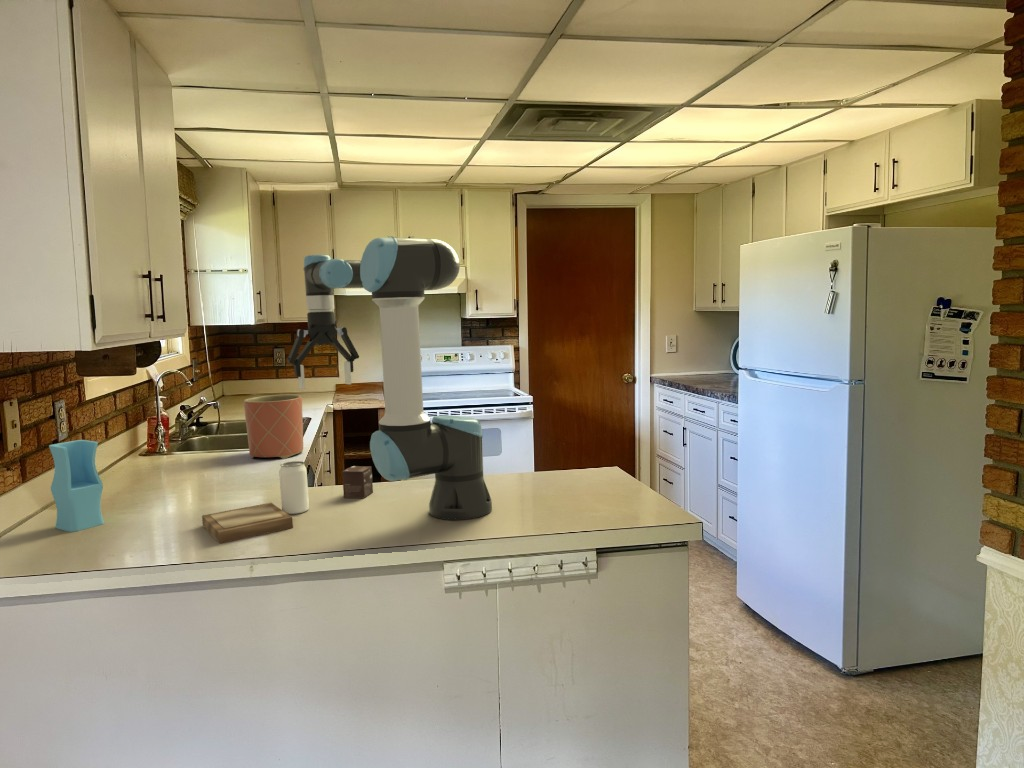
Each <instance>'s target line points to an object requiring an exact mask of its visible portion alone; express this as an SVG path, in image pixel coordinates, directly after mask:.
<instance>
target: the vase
mask: <svg viewBox="0 0 1024 768" xmlns="http://www.w3.org/2000/svg"><path fill="white" fill-rule="evenodd" d="M98 445H99V442H98V441H95V440H94V441H93V440H87V439H76V440H71V441H65V442H59V443H54V444H53V443H52V444H49V445H48V447H49V450H50V453H51V455H52V459H53V463H54V473H53V479H52V482H51V485H50V492H51V495H52V496H53V497H52V498H53V500H54V503H55V506H56V522H55V529H58V530H61V531H65V532H69V533H73V532H79V531H84V530H86V529H87V530H88V529H90V528H93V527H97V526H102V525H104V524H105V522H104V518H103V515H102V510H101V501H102V493H103V489H104V485H103V484H104V483H103V481H102V479H101V477H100V475H99V473H98V470H97V468H96V467H97V465H96V454H97V453H96V452H97V449H98Z"/></svg>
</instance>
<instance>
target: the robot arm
mask: <svg viewBox="0 0 1024 768" xmlns="http://www.w3.org/2000/svg"><path fill="white" fill-rule="evenodd" d="M460 265H461V263H460V259H459V256H458V253H457V252H456V251H455V249H454V248H453V247H452V246H451V245H450V244H448V243H446V242H445V241H443V240H440V239H435V238H417V237H416V238H415V237H400V236H399V237H398V236H387V237H385V236H384V237H377V238H374V239H371V241H370V242H369V243H367V244H366V246H365V249H364V251H363V252H362V256H361V260H360V259H359V260H356V259H355V260H354V259H353V260H352V259H341V258H331V256H330V255H329V254H328V255H327V254H311V255H310V254H309V255H306V256H304V259H303V268H302V269H303V271H304V273H303V274H304V284H305V285H304V286H305V296H306V297H305V299H306V310H307V311H309V312H307V314H306V315H307V318H306V319H307V329H306V330H305V329H303V328H301V329H297V330H296V338H295V340H294V343H293V345H292V347H291V349H290V353H289V354H288V356H287V359H286V363H287V364H290V365H293V368H294V376H295V378H298V388H299V389H300V390H304V389H306V383H305V366H304V365H303V364H302V363H303V361H304V360H305V359H306V357H307V356H308V354H309V353H310V352H311V350H312V349H313V348H314V347H315V346H316V345H317V346H318V345H319V346H320V345H330V344H331V345H332V346H333V347H334V348H335V349H336V350H337V352H338V353H339V354H340V355H341V356H342V357H343V358H344V361H343V367H344V369H343V370H344V384H345V385H352V373H354V362H355V360H357V359H359V358H360V354H359V353H358V351H357V349H356V348H355V345H354V344H353V342H352V340H351V338H350V337H349V334H348V330H347V329H348V328H347V327H345V326H344V327H339V328H337V326H336V313H335V311H333V310H335V298H334V297H335V295H334V289H335V290H336V289H362V288H363V289H364V290H365V291H367V292H369V293H371V301H372V302H374V303H375V305H377V306H378V308H379V321H380V322H379V323H380V325H379V326H380V343H381V358H382V359H381V361H382V377H383V378H382V379H383V382H382V383H383V396H384V397H383V398H384V415H383V416H382V417H381V418H380V420H379V421H378V430H376V431H374V432H373V433H371V436H370V441H369V450H370V455H371V458H372V462H373V464H374V466H375V469H376V471H377V472H378V473H379V474H380V475H381V476H382V478H383V479H385V480H387V481H388V482H389V481H391V482H395V481H396V482H397V481H407V480H409V479H414V478H418V477H419V478H420V477H423V476H428V475H429V476H430V475H434V484H433V488H432V493H431V496H430V499H429V503H428V507H429V510H428V511H429V514H430V515H431V516H432V517H434V518H437V519H442V520H453V521H455V520H459V521H460V520H470V519H471V520H472V519H476V518H480V517H484V516H485V515H488V514H490V512H492V510H493V503H492V502H493V500H492V497H491V495H490V492H489V489H488V486H487V483H486V481H485V478H484V456H483V438H484V436H483V431H482V425H481V422H480V421H479V420H478V419H477V418H475V417H474V418H473V417H470V416H461V415H445V414H443V415H435V416H433V417H432V420H431V418H430V417H429V415H427V414H426V413H425V412H424V399H423V378H422V377H423V375H422V357H421V356H422V355H421V336H420V333H421V332H420V316H419V315H420V314H419V312H420V311H419V306H420V305H421V303H422V302H423V301H424V300H425V291H437V290H442V289H444V288H446V287H448V286H450V285H452V283H453V282H455V281H456V279H457V277H458V275H459V272H460V268H461V266H460ZM337 334H338V335H339V336H340V337H341V339H342V341H343V343H344V345H345V347H346V349H345V347H344V346H343V345H342V344H341V343H340V342H339V340H338V339H337V337H336V335H337ZM306 336H308V337H309V339H308V340H307V342H306V344H305V346H304V347H302V343H303V341H304V339H305V338H306ZM301 347H302V350H301V351H300V353H299V350H300V348H301ZM298 353H299V354H298ZM345 360H346V361H345Z"/></svg>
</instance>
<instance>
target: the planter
mask: <svg viewBox="0 0 1024 768" xmlns="http://www.w3.org/2000/svg"><path fill="white" fill-rule="evenodd" d="M243 409H244V418H245V425H246V427H245V428H246V433H247V442H248V443H247V444H248V452H249V456H250V459H252V460H253V459H255V457H256V458H280V459H283V460H285V459H287V458H290V457H292V456H294V455H297V454H300V453H302V452H303V451H304V423H303V422H304V419H303V418H304V417H303V397H302V395H299V394H274V395H273V394H272V395H262V396H253V397H249V398H246V399H244V400H243Z"/></svg>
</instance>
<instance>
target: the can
mask: <svg viewBox="0 0 1024 768" xmlns="http://www.w3.org/2000/svg"><path fill="white" fill-rule="evenodd" d="M278 473H279V474H278V476H279V490H280V491H279V492H280V500H281V501H280V505H281V510H283V511H284V512H286V513H287V514H288V515H298V514H303V513H305V512H307V511H308V510H310V503H309V502H310V501H309V484H308V474H307V473H308V471H307V467H306V466H305V462H304V461H301V460H300V461H295V460H293V461H287V462H283V463H280V468H279V471H278Z"/></svg>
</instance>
